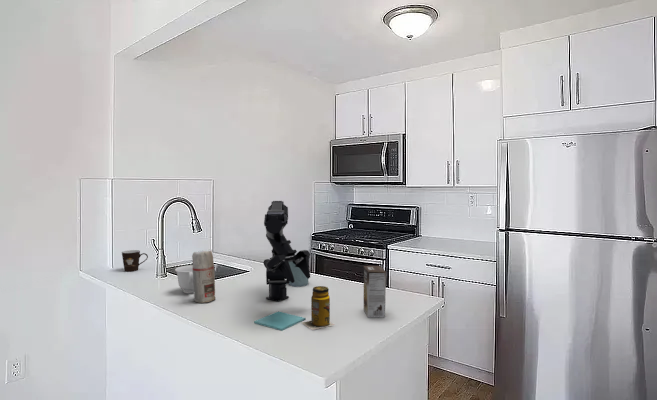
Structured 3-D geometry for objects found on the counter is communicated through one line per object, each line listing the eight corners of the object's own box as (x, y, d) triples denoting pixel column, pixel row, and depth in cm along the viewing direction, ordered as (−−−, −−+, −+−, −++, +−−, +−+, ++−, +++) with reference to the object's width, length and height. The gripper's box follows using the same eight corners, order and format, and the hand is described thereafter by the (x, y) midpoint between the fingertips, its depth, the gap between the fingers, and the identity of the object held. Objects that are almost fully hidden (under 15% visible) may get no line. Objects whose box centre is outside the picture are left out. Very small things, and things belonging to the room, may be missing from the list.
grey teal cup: (308, 287, 175) (308, 260, 174) (285, 287, 175) (285, 260, 175) (310, 281, 185) (310, 255, 185) (288, 281, 185) (288, 255, 185)
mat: (254, 323, 131) (254, 321, 131) (278, 313, 141) (278, 311, 141) (281, 330, 124) (281, 328, 124) (305, 319, 134) (305, 317, 134)
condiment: (335, 325, 129) (335, 288, 128) (312, 330, 124) (312, 292, 124) (322, 318, 135) (322, 283, 134) (301, 323, 130) (301, 287, 130)
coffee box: (362, 309, 145) (363, 265, 144) (380, 308, 145) (380, 265, 145) (367, 317, 136) (367, 271, 135) (385, 317, 136) (386, 270, 135)
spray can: (194, 304, 150) (194, 252, 149) (191, 299, 157) (190, 249, 156) (217, 301, 154) (217, 250, 153) (213, 296, 161) (212, 247, 160)
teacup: (175, 298, 158) (174, 273, 157) (175, 289, 171) (174, 266, 171) (207, 295, 162) (206, 271, 162) (204, 286, 176) (203, 264, 175)
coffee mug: (118, 272, 204) (117, 252, 204) (129, 268, 212) (128, 249, 212) (138, 272, 202) (138, 253, 202) (149, 269, 211) (148, 250, 210)
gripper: (281, 253, 152) (302, 288, 147) (247, 258, 136) (269, 298, 131) (300, 236, 148) (322, 271, 142) (267, 239, 132) (290, 279, 126)
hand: (301, 280), depth 136 cm, fingers open, 9 cm apart
